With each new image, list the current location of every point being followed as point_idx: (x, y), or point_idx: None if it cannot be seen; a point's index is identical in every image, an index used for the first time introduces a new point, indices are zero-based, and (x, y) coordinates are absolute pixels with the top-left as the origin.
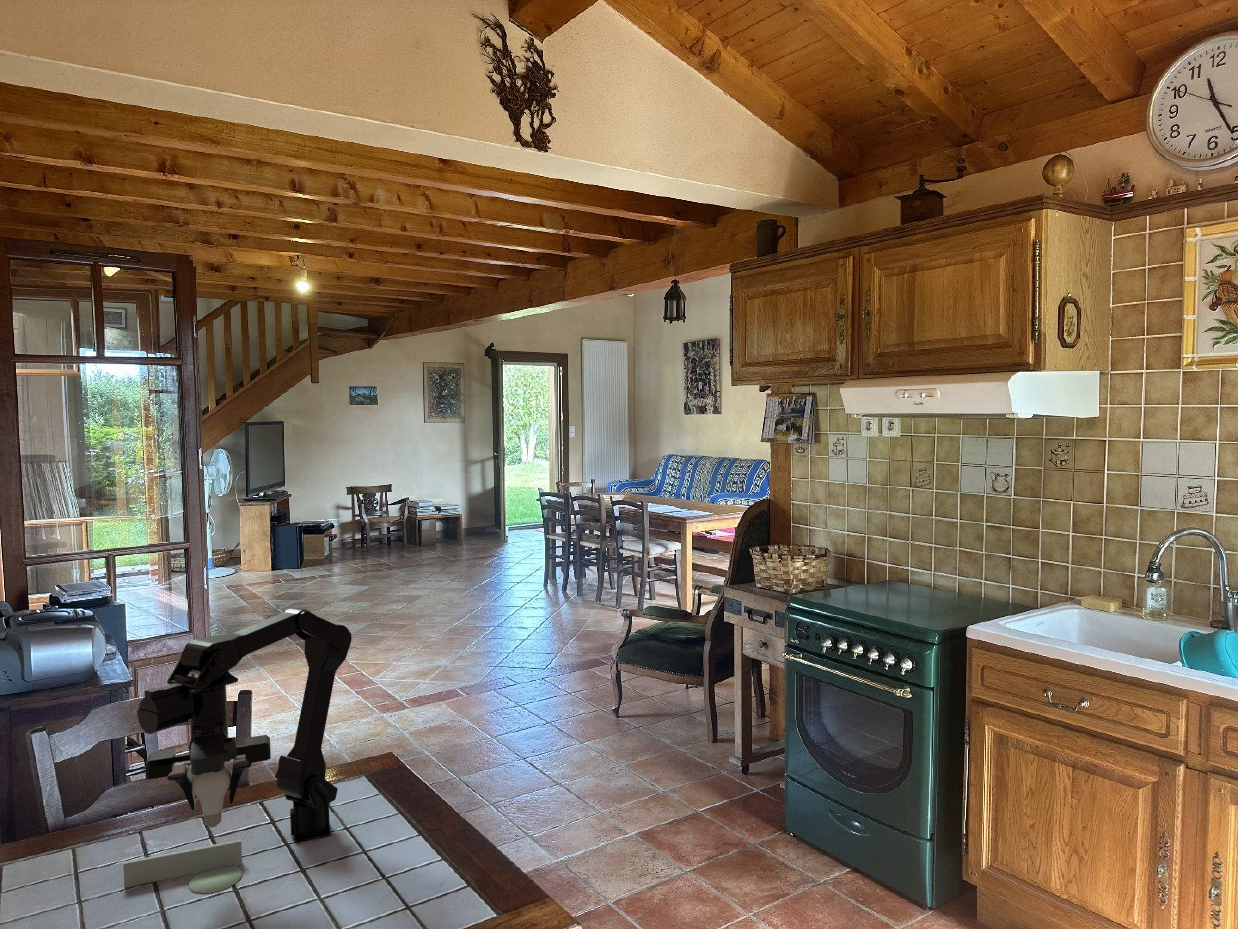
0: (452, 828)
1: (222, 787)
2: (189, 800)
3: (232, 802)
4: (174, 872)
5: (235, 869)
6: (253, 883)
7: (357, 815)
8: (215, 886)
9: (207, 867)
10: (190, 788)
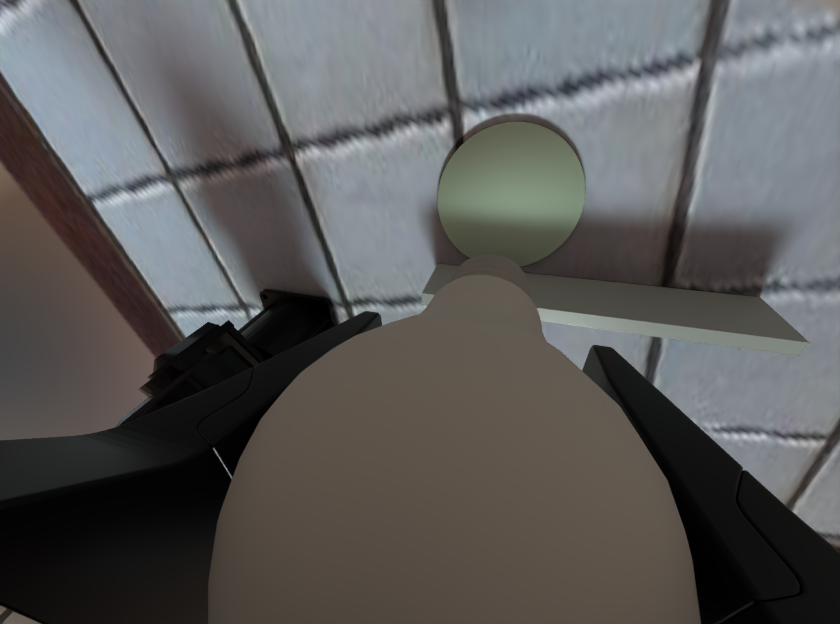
0: (38, 192)
1: (333, 352)
2: (658, 401)
3: (363, 313)
4: (611, 288)
5: (452, 233)
6: (405, 127)
7: None
8: (511, 150)
9: None
10: (705, 509)
